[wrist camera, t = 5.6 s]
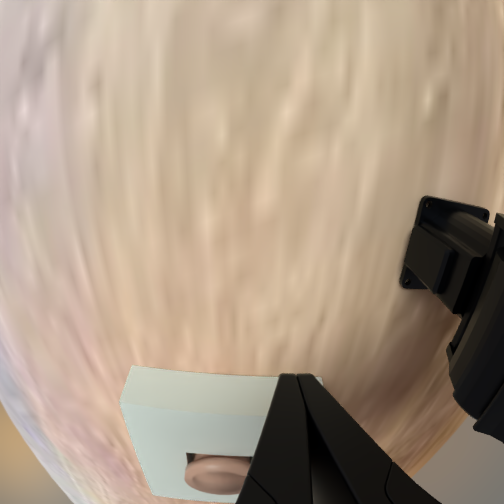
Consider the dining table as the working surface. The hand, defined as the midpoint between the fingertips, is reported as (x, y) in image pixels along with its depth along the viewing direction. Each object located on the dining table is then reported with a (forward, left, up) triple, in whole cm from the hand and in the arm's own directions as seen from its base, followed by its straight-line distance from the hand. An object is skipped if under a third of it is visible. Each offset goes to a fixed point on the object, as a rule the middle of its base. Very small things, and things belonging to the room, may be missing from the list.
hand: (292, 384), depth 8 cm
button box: (+1, +21, -12) cm, 24 cm away
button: (+1, +21, -11) cm, 24 cm away
